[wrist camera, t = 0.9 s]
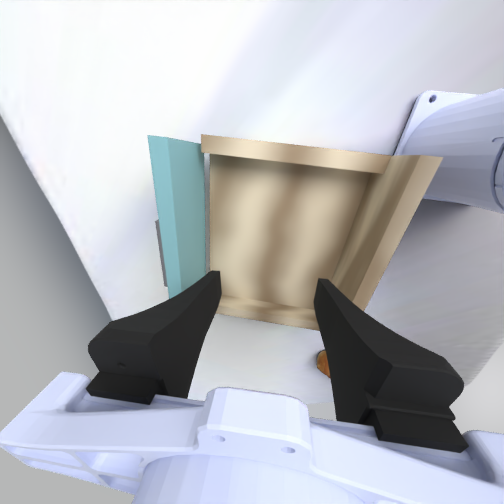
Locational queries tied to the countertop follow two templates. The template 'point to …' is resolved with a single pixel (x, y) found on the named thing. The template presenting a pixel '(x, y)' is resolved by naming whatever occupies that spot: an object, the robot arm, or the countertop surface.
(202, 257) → the panel
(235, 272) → the tray
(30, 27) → the countertop surface
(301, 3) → the countertop surface
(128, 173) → the countertop surface
